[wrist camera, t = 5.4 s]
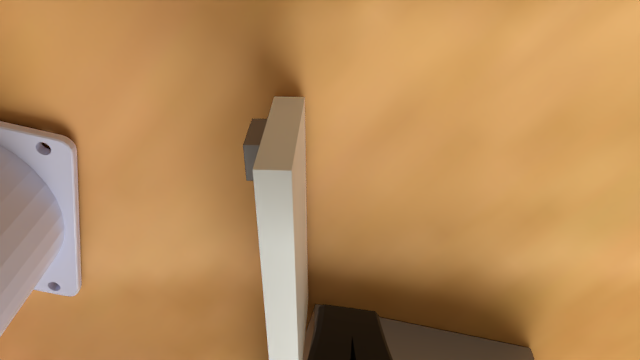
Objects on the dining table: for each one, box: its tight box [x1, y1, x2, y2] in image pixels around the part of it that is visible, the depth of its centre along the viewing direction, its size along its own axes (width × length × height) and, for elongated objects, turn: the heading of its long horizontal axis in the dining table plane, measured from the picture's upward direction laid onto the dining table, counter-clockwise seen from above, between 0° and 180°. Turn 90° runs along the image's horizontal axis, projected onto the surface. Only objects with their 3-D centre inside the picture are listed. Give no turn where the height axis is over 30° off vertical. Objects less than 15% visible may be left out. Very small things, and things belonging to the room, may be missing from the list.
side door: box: [243, 96, 308, 360], centre depth 18 cm, size 10×2×4 cm, turn 0°
